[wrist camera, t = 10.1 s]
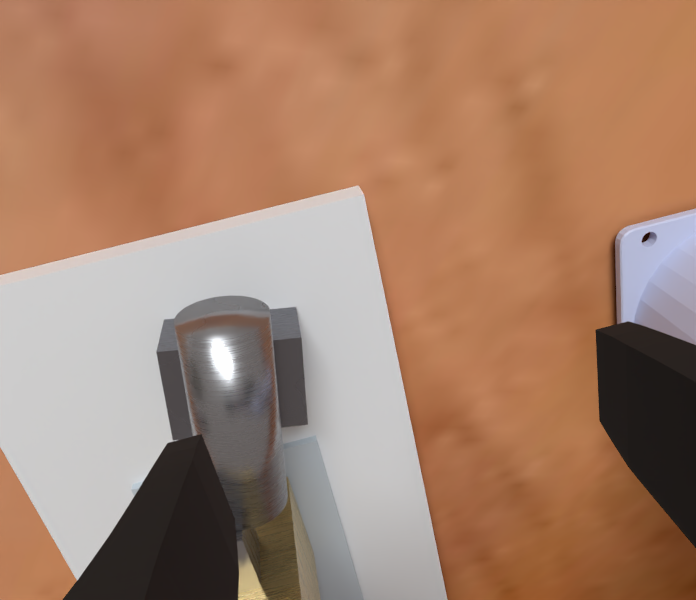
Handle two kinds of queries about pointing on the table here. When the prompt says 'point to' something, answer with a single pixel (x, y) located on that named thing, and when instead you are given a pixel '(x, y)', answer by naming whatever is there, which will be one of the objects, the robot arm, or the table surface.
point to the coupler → (277, 558)
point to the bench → (149, 401)
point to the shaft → (237, 394)
